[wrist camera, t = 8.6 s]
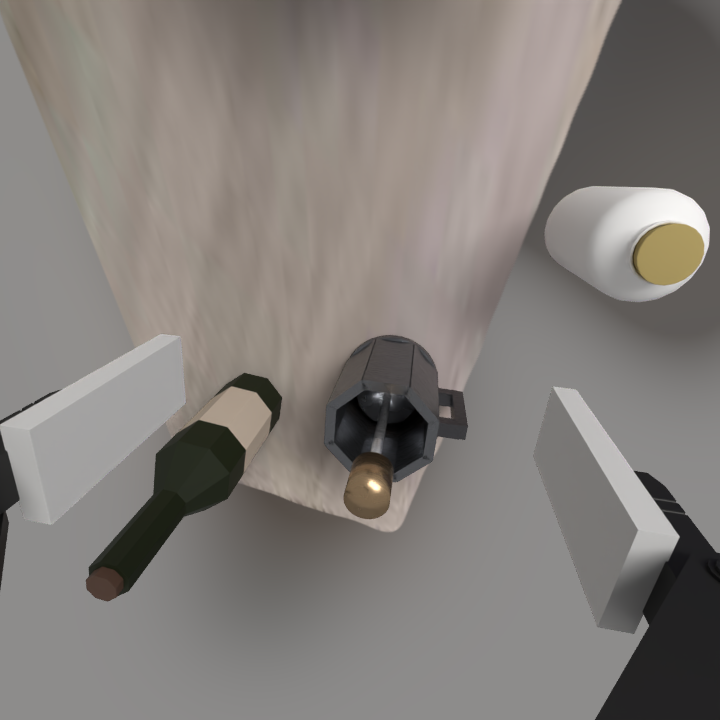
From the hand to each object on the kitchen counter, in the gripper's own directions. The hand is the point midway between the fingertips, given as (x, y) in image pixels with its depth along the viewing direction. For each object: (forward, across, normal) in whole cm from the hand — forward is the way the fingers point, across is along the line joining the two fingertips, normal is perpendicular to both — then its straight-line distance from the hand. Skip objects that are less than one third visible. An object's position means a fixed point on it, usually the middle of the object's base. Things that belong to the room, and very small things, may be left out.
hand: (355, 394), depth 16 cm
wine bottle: (+37, -18, -22) cm, 47 cm away
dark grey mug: (+37, +1, -16) cm, 40 cm away
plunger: (+33, 0, -16) cm, 36 cm away
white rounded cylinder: (+37, +18, +4) cm, 41 cm away
